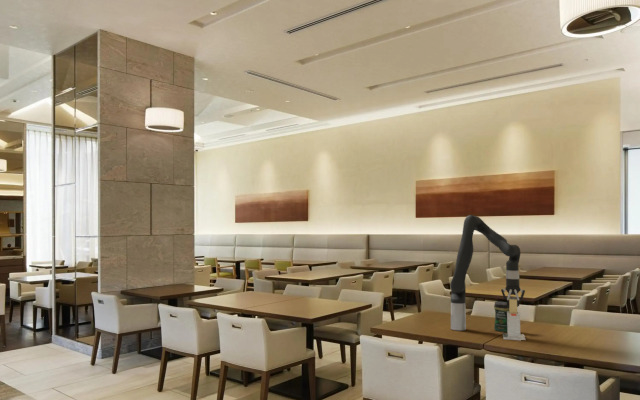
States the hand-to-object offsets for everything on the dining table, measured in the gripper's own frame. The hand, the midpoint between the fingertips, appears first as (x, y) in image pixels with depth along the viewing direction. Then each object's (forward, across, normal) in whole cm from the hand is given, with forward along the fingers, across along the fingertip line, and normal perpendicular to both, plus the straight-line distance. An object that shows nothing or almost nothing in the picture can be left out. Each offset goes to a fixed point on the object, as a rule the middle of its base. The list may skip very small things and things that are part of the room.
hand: (513, 306), depth 288 cm
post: (+16, 0, 0) cm, 16 cm away
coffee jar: (+19, -6, +19) cm, 28 cm away
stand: (+19, 0, 0) cm, 19 cm away
